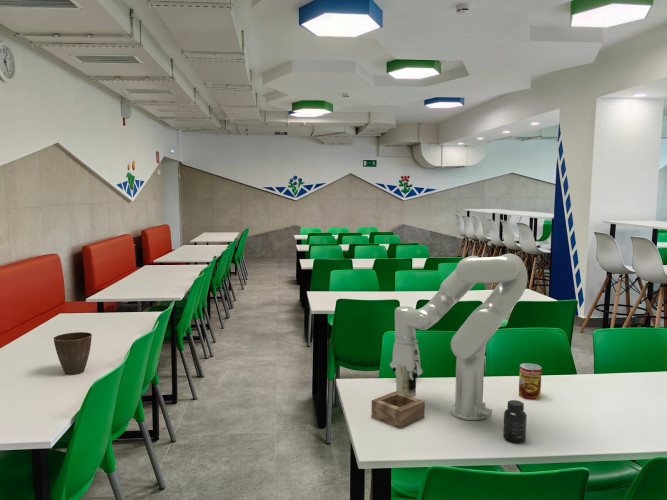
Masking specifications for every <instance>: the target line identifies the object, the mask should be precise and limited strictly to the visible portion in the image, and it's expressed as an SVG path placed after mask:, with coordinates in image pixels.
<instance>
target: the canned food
mask: <svg viewBox="0 0 667 500" xmlns="http://www.w3.org/2000/svg"><path fill="white" fill-rule="evenodd" d="M542 369H543V368H542V365H541V366H540V365H539V364H535V363H529V362H528V363H527V362H526V363H525V362H524V363H521V364H519V375H518V376H519V379H518V380H519V381H518V396H519V398H521V399H524V400H529V401H538V400H540V399H541V394H542V393H541V392H542V391H541V388H542V387H541V386H542Z"/></svg>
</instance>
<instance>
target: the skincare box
mask: <svg viewBox="0 0 667 500" xmlns="http://www.w3.org/2000/svg"><path fill="white" fill-rule="evenodd" d="M415 369H416V368H415ZM412 373H413V372H412ZM409 380H410V375H409V372H408V371H406V368H405V366H402V365H397V364H396V388H395V389H396V390H395V391H396V392H399V393H402V394H405V395H408V396H411V397H414V398H416V395H417V388H416V389H413V390H409Z"/></svg>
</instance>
